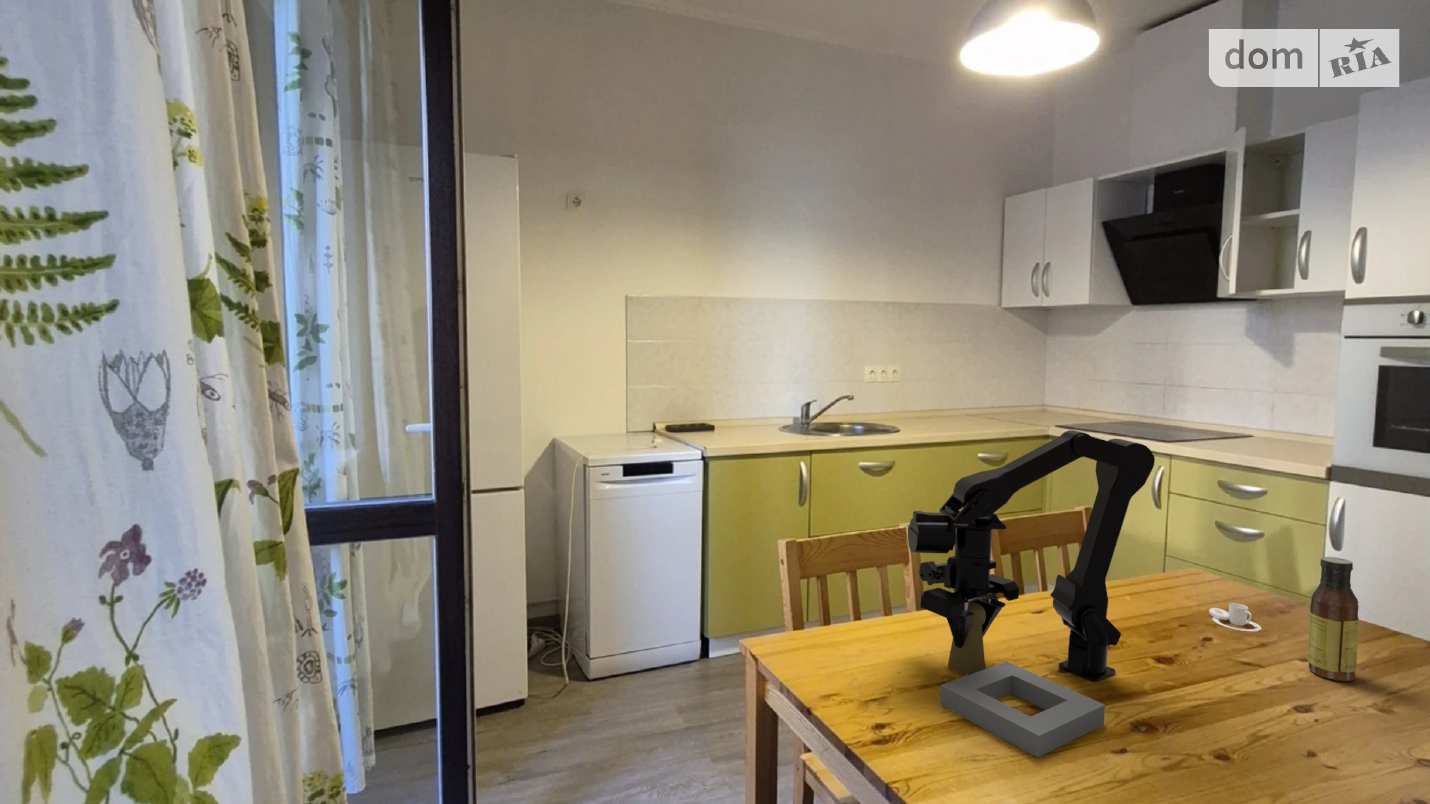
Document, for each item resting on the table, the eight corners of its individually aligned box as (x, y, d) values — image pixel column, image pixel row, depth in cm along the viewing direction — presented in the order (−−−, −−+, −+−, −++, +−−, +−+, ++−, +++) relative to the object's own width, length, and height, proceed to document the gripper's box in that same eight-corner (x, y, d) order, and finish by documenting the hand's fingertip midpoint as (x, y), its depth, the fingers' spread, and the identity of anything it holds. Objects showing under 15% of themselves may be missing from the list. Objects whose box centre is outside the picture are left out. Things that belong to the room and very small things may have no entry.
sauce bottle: (1346, 671, 121) (1358, 557, 119) (1361, 686, 115) (1373, 568, 113) (1298, 663, 123) (1309, 552, 122) (1311, 678, 118) (1322, 561, 116)
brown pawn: (988, 677, 115) (992, 612, 114) (950, 673, 116) (953, 608, 116) (982, 661, 121) (985, 599, 120) (945, 657, 122) (948, 596, 121)
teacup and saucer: (1201, 615, 146) (1203, 596, 146) (1243, 618, 145) (1245, 598, 145) (1226, 632, 138) (1227, 611, 137) (1270, 635, 137) (1272, 614, 136)
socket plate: (1005, 679, 115) (1006, 661, 115) (1103, 724, 101) (1105, 704, 101) (939, 704, 106) (940, 685, 106) (1037, 757, 93) (1039, 735, 93)
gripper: (968, 534, 129) (963, 617, 130) (896, 549, 119) (892, 638, 120) (1023, 550, 120) (1018, 639, 121) (950, 567, 110) (945, 664, 111)
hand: (967, 644), depth 118 cm, fingers closed on brown pawn, 4 cm apart
